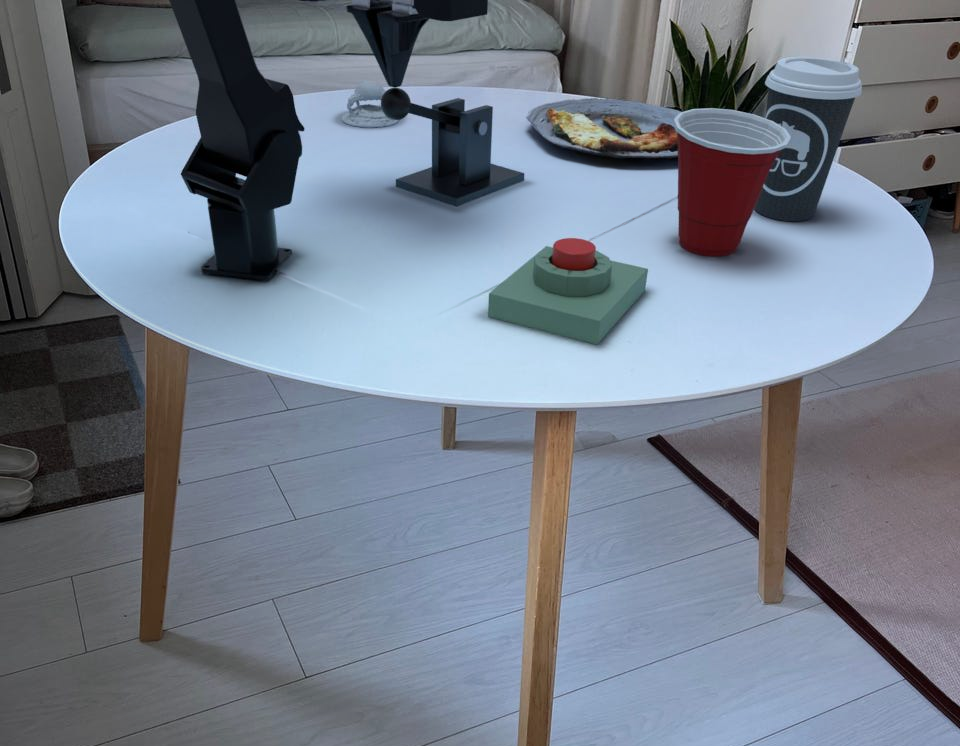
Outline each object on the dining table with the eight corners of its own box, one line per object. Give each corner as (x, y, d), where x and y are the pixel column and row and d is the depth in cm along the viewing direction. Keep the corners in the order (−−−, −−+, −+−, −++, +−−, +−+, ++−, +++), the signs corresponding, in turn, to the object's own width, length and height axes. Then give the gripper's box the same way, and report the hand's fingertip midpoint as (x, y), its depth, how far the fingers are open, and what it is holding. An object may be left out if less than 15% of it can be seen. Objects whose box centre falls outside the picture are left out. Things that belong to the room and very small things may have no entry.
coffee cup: (842, 227, 98) (883, 77, 89) (755, 226, 97) (788, 75, 88) (809, 196, 105) (844, 55, 96) (728, 195, 105) (756, 54, 96)
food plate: (744, 168, 113) (750, 139, 111) (564, 177, 108) (567, 147, 106) (663, 114, 132) (666, 88, 130) (508, 119, 127) (509, 92, 125)
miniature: (392, 129, 121) (391, 90, 119) (335, 125, 122) (332, 86, 119) (404, 113, 128) (403, 76, 125) (349, 109, 128) (347, 72, 126)
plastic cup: (706, 277, 86) (732, 147, 79) (633, 237, 93) (650, 115, 86) (787, 255, 91) (818, 131, 84) (711, 220, 98) (733, 102, 91)
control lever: (393, 120, 90) (400, 87, 89) (371, 114, 91) (378, 82, 90) (476, 142, 101) (483, 113, 100) (456, 136, 102) (462, 108, 101)
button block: (597, 345, 74) (602, 300, 72) (487, 317, 78) (489, 272, 75) (645, 291, 83) (651, 249, 81) (544, 267, 86) (547, 226, 84)
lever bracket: (456, 209, 98) (458, 125, 93) (395, 189, 103) (393, 107, 97) (524, 183, 106) (529, 103, 100) (464, 165, 110) (466, 88, 105)
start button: (584, 277, 76) (586, 257, 75) (544, 268, 78) (546, 248, 77) (599, 262, 79) (602, 243, 78) (561, 253, 80) (563, 234, 79)
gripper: (530, -96, 81) (519, 90, 91) (379, -112, 91) (384, 58, 100) (447, -90, 74) (445, 110, 84) (293, -108, 84) (307, 74, 93)
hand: (394, 86), depth 90 cm, fingers closed
